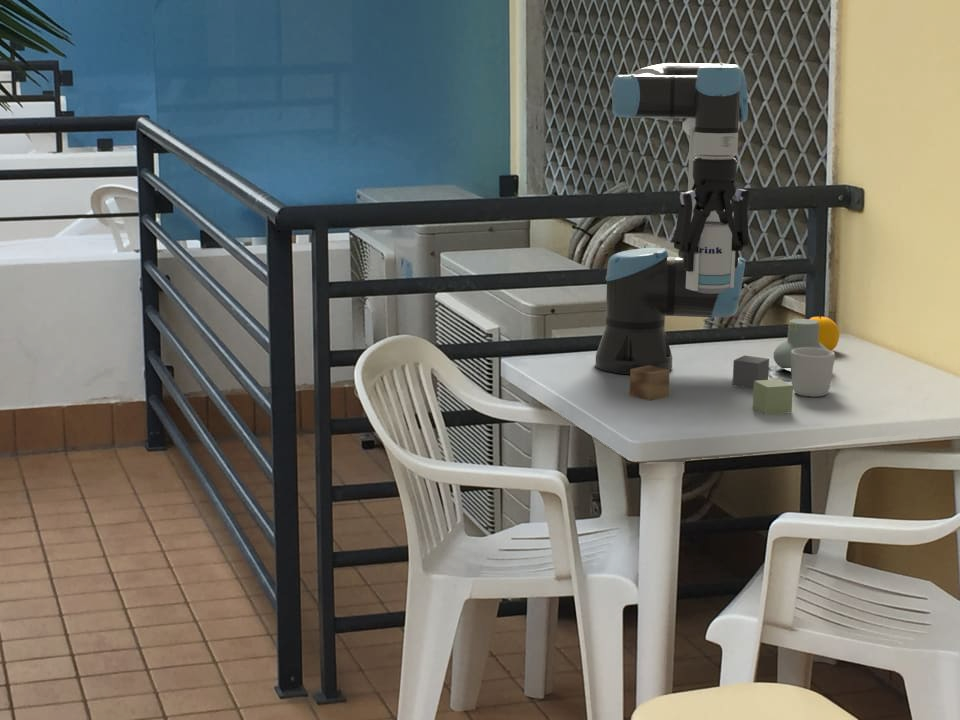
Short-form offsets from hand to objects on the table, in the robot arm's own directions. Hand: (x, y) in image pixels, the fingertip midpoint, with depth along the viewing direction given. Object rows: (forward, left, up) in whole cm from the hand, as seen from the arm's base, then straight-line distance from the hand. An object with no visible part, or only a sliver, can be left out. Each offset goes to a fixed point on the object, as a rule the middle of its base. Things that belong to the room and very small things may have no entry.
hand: (709, 287), depth 259 cm
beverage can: (0, 0, -1) cm, 1 cm away
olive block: (+9, +8, -21) cm, 24 cm away
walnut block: (-9, -6, -21) cm, 24 cm away
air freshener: (-13, +32, -21) cm, 41 cm away
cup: (+2, +23, -21) cm, 31 cm away
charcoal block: (-8, +16, -21) cm, 28 cm away
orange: (-26, +47, -21) cm, 58 cm away
